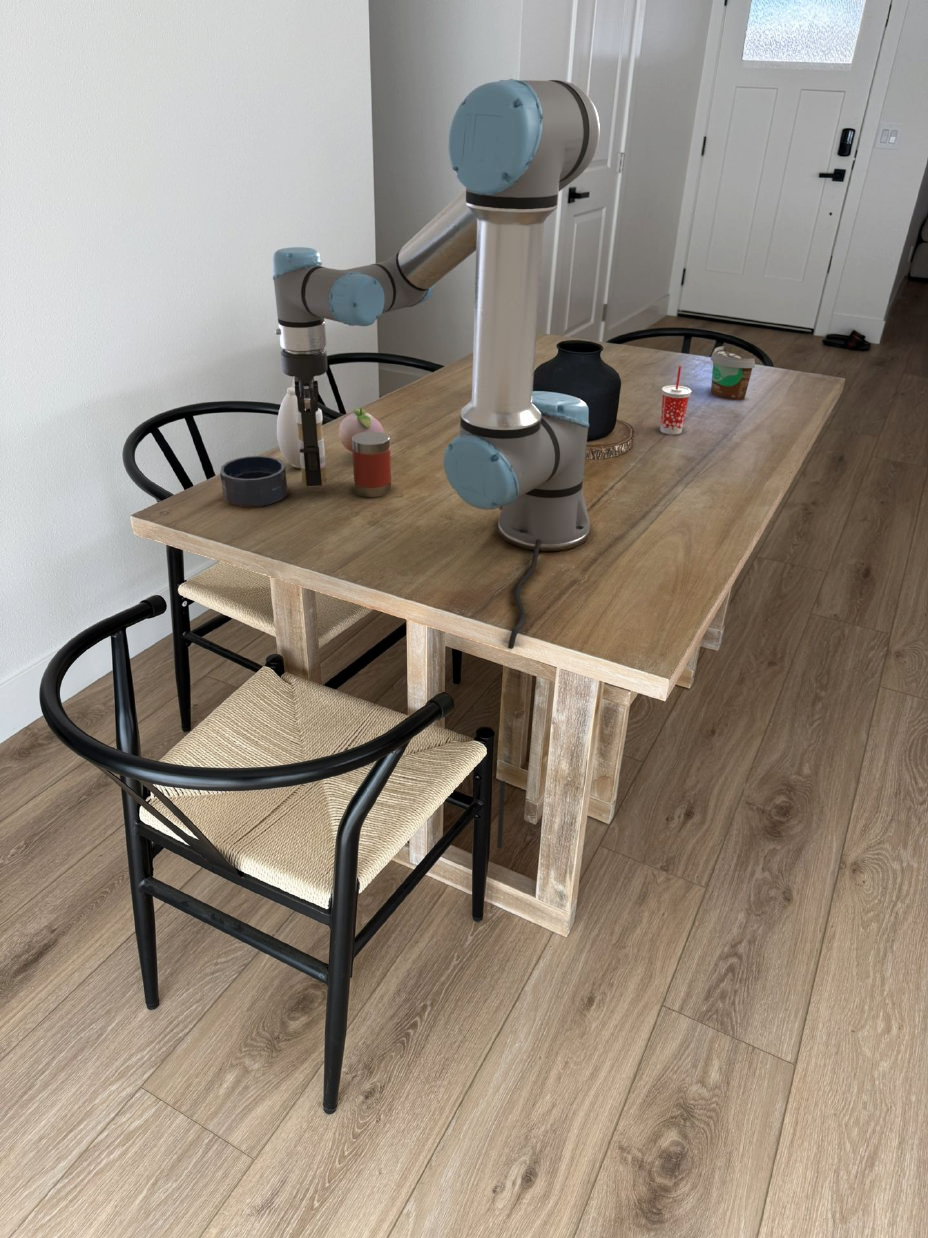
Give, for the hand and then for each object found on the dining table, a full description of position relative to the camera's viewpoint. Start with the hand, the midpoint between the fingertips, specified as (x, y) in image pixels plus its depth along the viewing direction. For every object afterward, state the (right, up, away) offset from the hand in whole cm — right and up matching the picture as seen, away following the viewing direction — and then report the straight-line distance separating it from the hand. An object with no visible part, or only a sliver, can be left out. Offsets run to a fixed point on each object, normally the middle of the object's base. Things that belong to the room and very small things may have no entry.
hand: (313, 479), depth 159 cm
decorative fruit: (+7, +7, +16) cm, 19 cm away
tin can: (+10, -1, +3) cm, 11 cm away
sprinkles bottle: (0, -1, 0) cm, 1 cm away
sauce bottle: (-5, +4, +12) cm, 14 cm away
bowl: (-10, -3, 0) cm, 11 cm away
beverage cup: (+72, +15, +32) cm, 80 cm away
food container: (+89, +28, +53) cm, 107 cm away
